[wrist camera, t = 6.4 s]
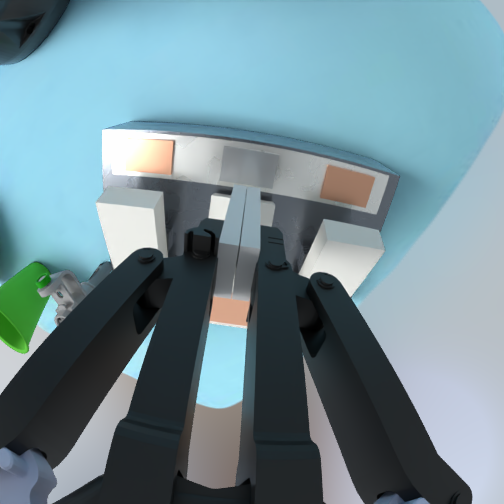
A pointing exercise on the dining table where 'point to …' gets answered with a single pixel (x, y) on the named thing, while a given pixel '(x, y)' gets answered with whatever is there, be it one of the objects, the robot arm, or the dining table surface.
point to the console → (246, 178)
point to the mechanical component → (69, 288)
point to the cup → (21, 307)
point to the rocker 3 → (344, 253)
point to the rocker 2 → (230, 309)
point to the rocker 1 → (132, 221)
